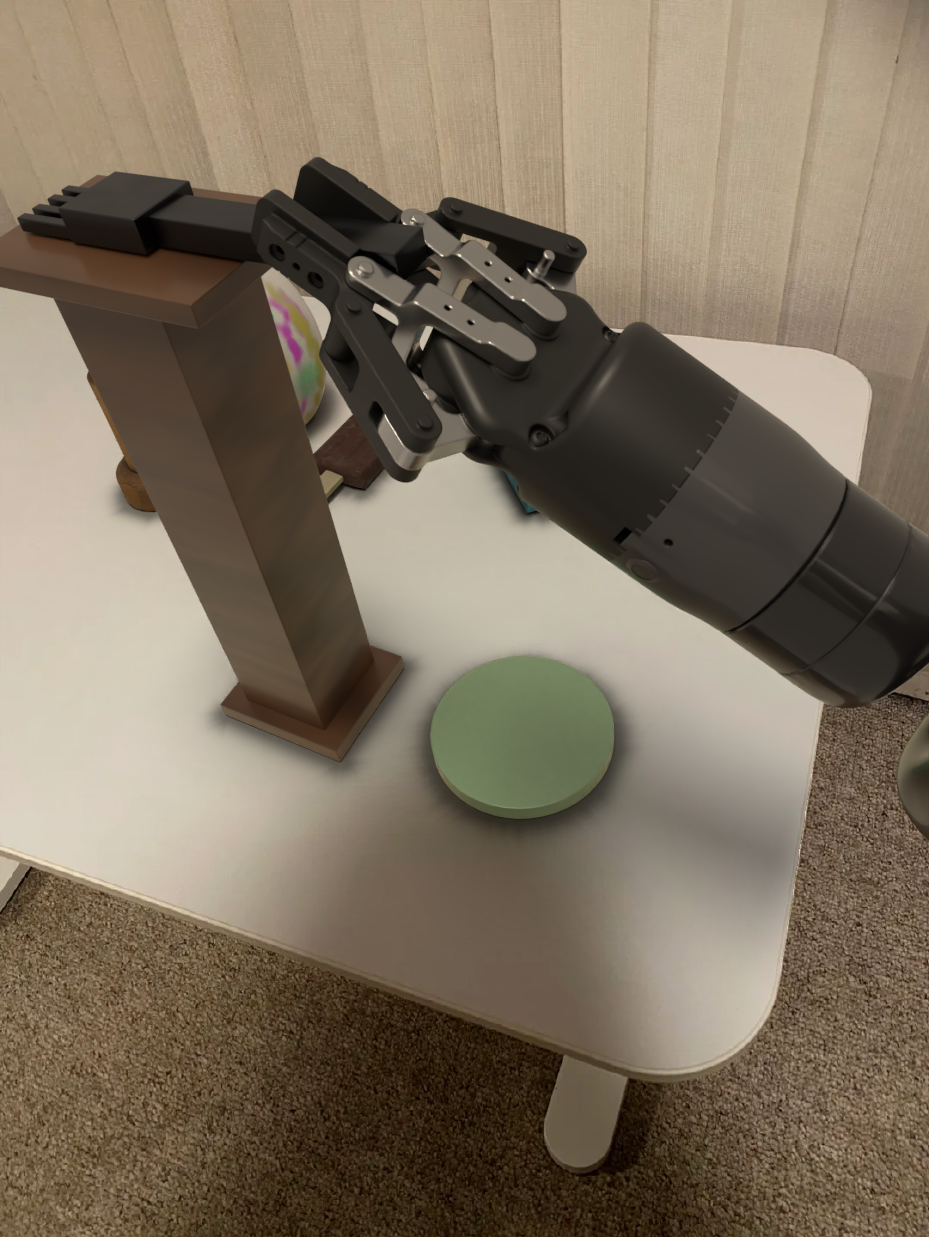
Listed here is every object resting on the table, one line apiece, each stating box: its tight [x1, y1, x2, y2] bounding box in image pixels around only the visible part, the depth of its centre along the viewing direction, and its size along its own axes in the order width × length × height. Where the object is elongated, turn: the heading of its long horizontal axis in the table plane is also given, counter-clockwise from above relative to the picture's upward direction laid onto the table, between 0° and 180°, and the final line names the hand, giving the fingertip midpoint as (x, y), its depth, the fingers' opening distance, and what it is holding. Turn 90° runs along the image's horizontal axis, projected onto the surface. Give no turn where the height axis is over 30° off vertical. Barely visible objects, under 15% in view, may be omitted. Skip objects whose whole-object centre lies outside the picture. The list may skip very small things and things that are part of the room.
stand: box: [0, 174, 405, 762], centre depth 49 cm, size 8×12×31 cm, turn 62°
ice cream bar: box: [313, 414, 385, 499], centre depth 75 cm, size 5×2×15 cm
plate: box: [429, 655, 615, 820], centre depth 56 cm, size 11×11×1 cm
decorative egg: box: [261, 268, 328, 426], centre depth 76 cm, size 12×12×15 cm
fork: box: [16, 170, 427, 281], centre depth 35 cm, size 3×18×1 cm, turn 63°
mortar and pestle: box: [86, 370, 157, 512], centre depth 70 cm, size 7×6×18 cm
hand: (282, 198), depth 33 cm, fingers closed on fork
